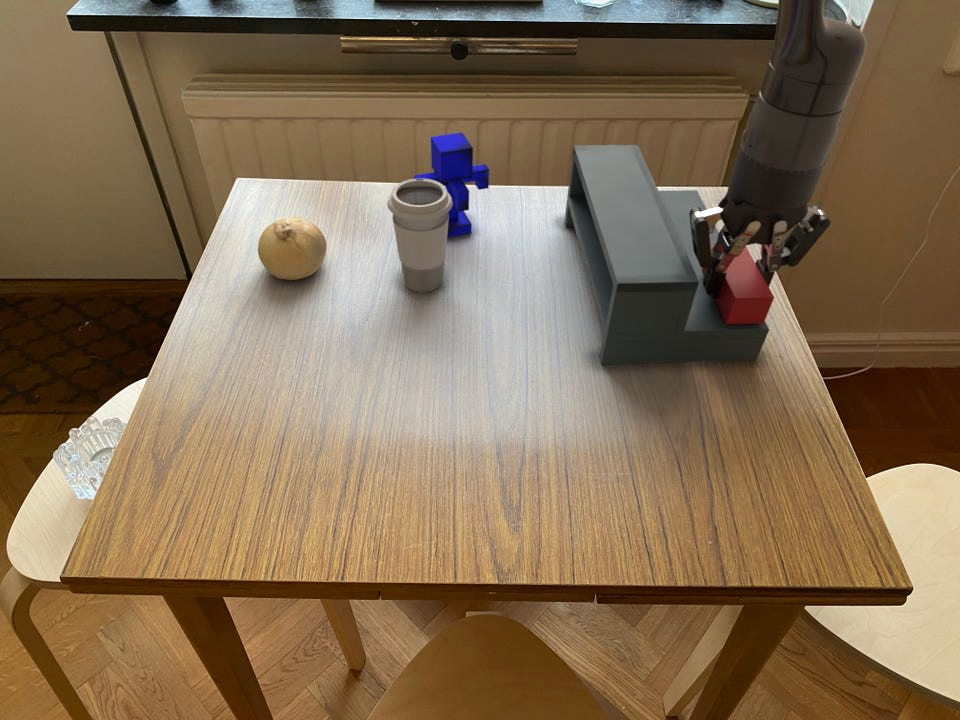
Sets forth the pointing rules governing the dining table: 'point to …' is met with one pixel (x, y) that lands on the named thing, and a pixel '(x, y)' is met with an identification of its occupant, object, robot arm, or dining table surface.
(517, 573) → the dining table surface
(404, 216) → the cup
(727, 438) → the dining table surface
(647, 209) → the shelf
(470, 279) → the dining table surface
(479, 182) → the figurine
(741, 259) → the red rectangular block
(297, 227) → the onion
